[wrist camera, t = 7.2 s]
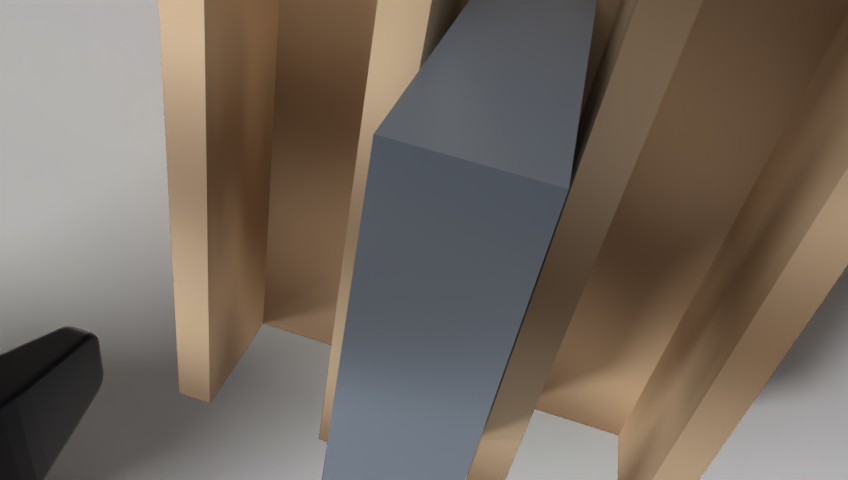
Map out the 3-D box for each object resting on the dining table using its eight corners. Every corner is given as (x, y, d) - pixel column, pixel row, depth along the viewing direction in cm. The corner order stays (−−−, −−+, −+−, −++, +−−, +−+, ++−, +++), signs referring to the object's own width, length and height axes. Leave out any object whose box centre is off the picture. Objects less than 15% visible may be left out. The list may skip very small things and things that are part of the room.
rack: (655, 423, 19) (660, 551, 16) (242, 295, 20) (171, 390, 17) (919, -30, 12) (1023, 40, 8) (254, -188, 13) (136, -177, 10)
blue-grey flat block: (483, 350, 18) (414, 621, 12) (409, 327, 18) (306, 583, 12) (597, 0, 12) (569, 189, 7) (488, -28, 12) (373, 133, 7)
